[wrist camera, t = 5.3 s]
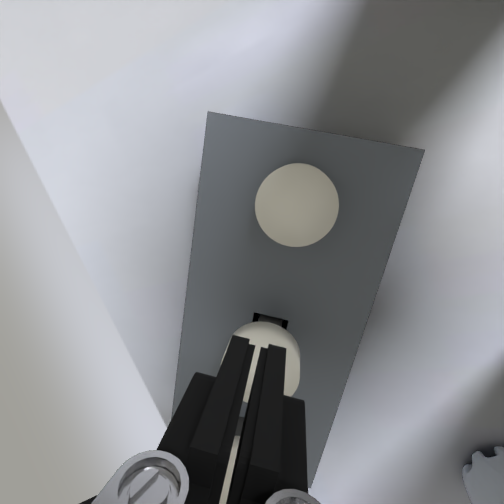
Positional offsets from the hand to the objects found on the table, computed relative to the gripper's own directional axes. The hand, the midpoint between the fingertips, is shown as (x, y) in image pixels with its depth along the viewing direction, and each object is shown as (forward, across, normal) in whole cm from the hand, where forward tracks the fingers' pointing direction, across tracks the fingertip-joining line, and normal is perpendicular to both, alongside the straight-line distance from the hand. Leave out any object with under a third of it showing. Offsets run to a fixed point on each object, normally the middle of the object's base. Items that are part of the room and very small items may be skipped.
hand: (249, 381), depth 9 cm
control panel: (+16, -1, +4) cm, 16 cm away
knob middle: (+13, -1, +4) cm, 14 cm away
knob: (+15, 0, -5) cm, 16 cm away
